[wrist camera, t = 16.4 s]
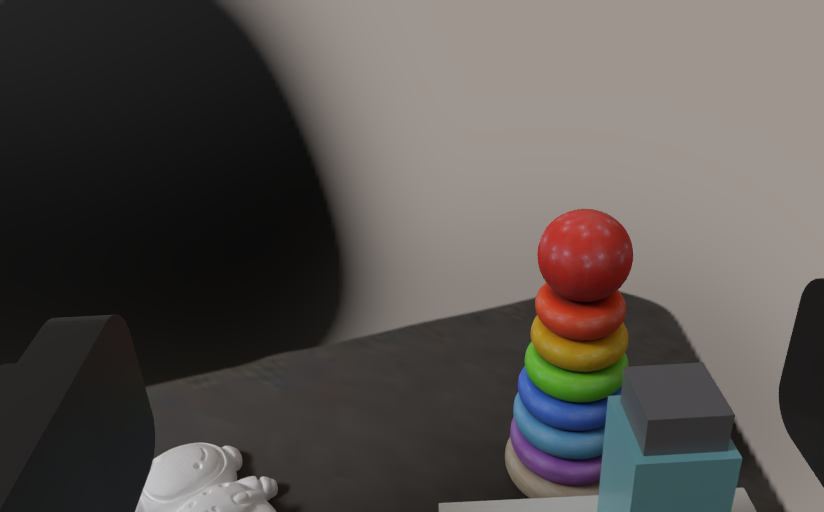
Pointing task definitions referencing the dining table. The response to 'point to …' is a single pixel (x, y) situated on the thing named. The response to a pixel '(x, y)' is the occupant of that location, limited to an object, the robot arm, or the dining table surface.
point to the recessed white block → (562, 504)
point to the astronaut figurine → (203, 482)
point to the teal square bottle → (668, 443)
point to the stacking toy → (571, 357)
